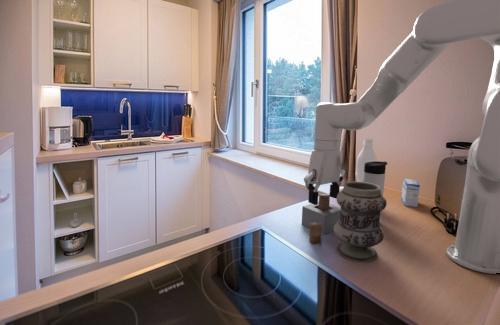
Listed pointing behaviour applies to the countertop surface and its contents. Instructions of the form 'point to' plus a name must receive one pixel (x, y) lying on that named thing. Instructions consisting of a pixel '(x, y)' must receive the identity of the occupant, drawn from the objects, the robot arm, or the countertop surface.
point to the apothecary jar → (359, 220)
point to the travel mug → (375, 174)
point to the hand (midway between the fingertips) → (323, 200)
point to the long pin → (324, 202)
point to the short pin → (315, 233)
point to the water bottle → (365, 158)
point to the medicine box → (410, 192)
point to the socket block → (321, 216)
